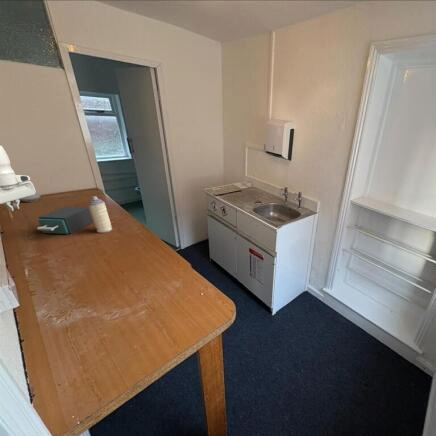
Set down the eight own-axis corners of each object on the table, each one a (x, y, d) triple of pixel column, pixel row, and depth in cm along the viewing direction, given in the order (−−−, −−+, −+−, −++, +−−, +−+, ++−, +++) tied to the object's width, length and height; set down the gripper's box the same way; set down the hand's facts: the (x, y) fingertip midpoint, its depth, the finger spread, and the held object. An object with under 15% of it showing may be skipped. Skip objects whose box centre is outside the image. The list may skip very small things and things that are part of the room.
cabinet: (70, 234, 125) (64, 218, 121) (45, 233, 125) (38, 216, 121) (93, 222, 140) (88, 207, 136) (70, 221, 139) (65, 206, 136)
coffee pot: (19, 200, 167) (10, 179, 161) (41, 197, 175) (33, 177, 169) (19, 208, 154) (10, 186, 149) (44, 204, 162) (35, 183, 156)
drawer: (59, 237, 120) (54, 223, 117) (35, 236, 120) (29, 222, 117) (88, 222, 137) (84, 210, 134) (67, 221, 137) (63, 209, 134)
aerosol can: (108, 227, 135) (98, 194, 127) (115, 229, 132) (105, 196, 124) (94, 231, 129) (83, 197, 121) (101, 234, 126) (90, 199, 119)
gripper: (-21, 186, 90) (-6, 219, 95) (33, 175, 109) (43, 203, 114) (-38, 185, 90) (-22, 218, 95) (19, 174, 109) (30, 202, 114)
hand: (14, 210), depth 105 cm, fingers closed
